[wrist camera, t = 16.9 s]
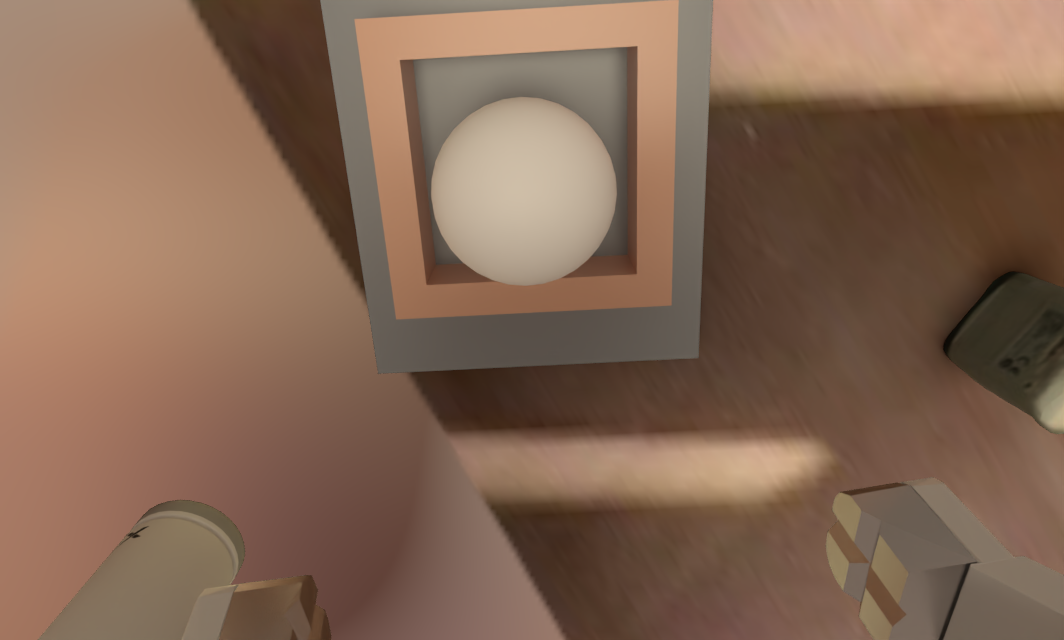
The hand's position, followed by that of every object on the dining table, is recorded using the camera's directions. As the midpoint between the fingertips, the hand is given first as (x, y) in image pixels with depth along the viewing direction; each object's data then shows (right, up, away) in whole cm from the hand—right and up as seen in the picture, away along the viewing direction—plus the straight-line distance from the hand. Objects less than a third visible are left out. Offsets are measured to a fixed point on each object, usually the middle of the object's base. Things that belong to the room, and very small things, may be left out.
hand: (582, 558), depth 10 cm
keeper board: (-1, +11, +21) cm, 24 cm away
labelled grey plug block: (+22, +4, +24) cm, 33 cm away
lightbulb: (-1, +11, +19) cm, 22 cm away
